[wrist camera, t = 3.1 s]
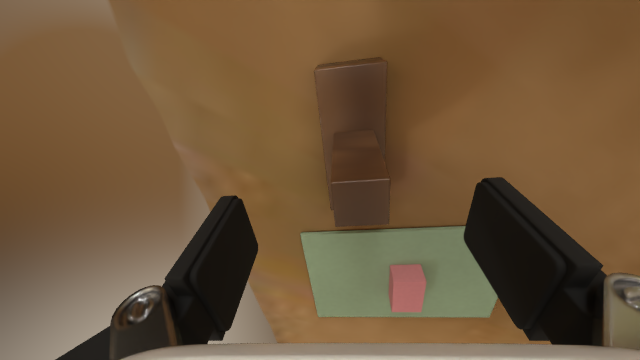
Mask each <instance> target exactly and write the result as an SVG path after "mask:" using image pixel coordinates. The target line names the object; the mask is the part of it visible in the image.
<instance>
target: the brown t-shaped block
mask: <svg viewBox="0 0 640 360" xmlns="http://www.w3.org/2000/svg"><path fill="white" fill-rule="evenodd" d="M314 74H315V82H316V90H317V99H318V107H319V115H320V123H321V132H322V140H323V148H324V156H325V165H326V173H327V181H328V190H329V198H330V206H331V210H334V219H335V226H336V227H340V226H363V225H387V224H389V207H390V177H389V174H388V171H387V168H386V165H385V131H386V85H387V61H385V60H383V59H382V58H380V57H378V58H370V59H362V60H354V61H346V62H338V63H330V64H322V65H318V66H317V67H316V69H315V70H314Z"/></svg>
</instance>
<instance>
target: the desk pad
mask: <svg viewBox="0 0 640 360" xmlns="http://www.w3.org/2000/svg"><path fill="white" fill-rule="evenodd" d="M465 227H466V226H452V227H427V228H402V229H377V230H352V231H327V232H302V233H301V235H300V236H301V241H302V245H303V250H304V254H305V259H306V263H307V268H308V273H309V277H310V282H311V286H312V291H313V295H314V300H315V305H316V309H317V314H318V317H490V314H491V312H492V310H493V307H494V305H495V303H496V301H497V298H498V296H497V294H496V293H495V291H494V290H493V288H492V286H491V285H490V283H489V281H488V280H487V278H486V277H485V275H484V273H483V272H482V270H481V268H480V267H479V265H478V263H477V262H476V260H475V259H474V257H473V255H472V254H471V252H470V250H469V249H468V247H467V245H466V244H465V241H464V231H465ZM411 264H421V267H422V270H423V273H424V276H425V278H426V281H427V282H426V288H425V294H424V300H423V306H422V312H392V311H391V305H390V300H389V274H390V265H411Z"/></svg>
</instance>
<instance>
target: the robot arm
mask: <svg viewBox="0 0 640 360" xmlns="http://www.w3.org/2000/svg"><path fill="white" fill-rule="evenodd" d="M464 241H465V244H466V245H467V247H468V249H469V250H470V252H471V254H472V255H473V257H474V259H475V260H476V262H477V263H478V265H479V267H480V268H481V270H482V272H483V273H484V275H485V277H486V278H487V280H488V281H489V283H490V285H491V286H492V288H493V290H494V291H495V293H496V294H497V296H498V298H499V299H500V301H501V303H502V304H503V306H504V308H505V309H506V311H507V312H508V314H509V316H510V317H511V319H512V321H513V322H514V324H515V325H516V326H517V327H518V328H519V329H523V331H524V333H525V334H526V336H527V337H528V339H529V341H549V340H550V342H551V343H552V345H549V344H469V343H247V344H246V343H240V344H207V343H208V341H209V340H210V341H211V340H213V341H215V340H216V341H217V340H218V341H219V340H220V341H222V340H223V337H224V334H225V332H226V331H228V330H229V329H230V328H231V326H232V323H233V320H234V317H235V314H236V312H237V308H238V306H239V303H240V300H241V297H242V294H243V291H244V289H245V286H246V283H247V280H248V278H249V275H250V272H251V269H252V266H253V263H254V261H255V258H256V255H257V252H258V243H257V240H256V238H255V235H254V232H253V229H252V226H251V223H250V221H249V218H248V215H247V212H246V209H245V206H244V204H243V201H242V199H238V197H237V196H223V197H221V198H220V199H219V201H218V202H217V204H216V205H215V206H214V208H213V209H212V211H211V212H210V214H209V215H208V217H207V218H206V219H205V221H204V223H203V224H202V225H201V227H200V228H199V230H198V231H197V232H196V234H195V235H194V237H193V238H192V240H191V241H190V243H189V244H188V245H187V247H186V248H185V250H184V251H183V253H182V254H181V256H180V257H179V259H178V260H177V261H176V263H175V264H174V266H173V267H172V269H171V270H170V272H169V273H168V274H167V276H166V277H165V280H166V281H165V283H164V284H163V286H162V287H161V286H155V285H153V286H148V287H145V288H142V289H140V290H138V291H136V292H135V293H134V294H132V295H130V296H129V297H128V298H127V299H125V300H124V301H123V302H122V303H121V304H120V305H119V307H118V308H117V309H116V311H115V312H114V314H113V316H112V320H111V325H110V326H109V327H108V328H106V329H104V330H103V331H101V332H100V333H98V334H97V335H95V336H93V337H92V338H90V339H89V340H87V341H85V342H83V343H82V344H80V345H78V346H77V347H75V348H74V349H72V350H70V351H69V352H67V353H66V354H64V355H62V356H61V357H59V358H58V359H56V360H640V276H637V275H634V274H628V273H612V274H610V275H608V276H607V275H606V274H605V273H604V272H602V271H601V268H602V267H603V265H602V264H601V263H600V262H599V261H598V260H596V259H595V258H594V257H593V256H592V255H591V254H590V253H588V252H587V251H586V250H585V249H584V248H583V247H582V246H580V245H579V244H578V243H577V242H576V241H575V240H574V239H572V238H571V237H570V236H569V235H568V234H567V233H566V232H564V231H563V230H562V229H561V228H560V227H559V226H558V225H556V224H555V223H554V222H553V221H552V220H551V219H550V218H548V217H547V216H546V215H545V214H544V213H543V212H542V211H540V210H539V209H538V208H537V207H536V206H535V205H534V204H532V203H531V202H530V201H529V200H528V199H527V198H526V197H524V196H523V195H522V194H521V193H520V192H519V191H518V190H516V189H515V188H514V187H513V186H512V185H511V184H510V183H508V182H507V181H506V180H505V179H504V178H502V177H497V178H484V179H482V181H481V182H479V183H477V185H476V188H475V192H474V196H473V200H472V204H471V208H470V211H469V215H468V219H467V223H466V227H465V231H464Z"/></svg>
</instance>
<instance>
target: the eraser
mask: <svg viewBox="0 0 640 360" xmlns="http://www.w3.org/2000/svg"><path fill="white" fill-rule="evenodd" d="M426 282H427V281H426V278H425V276H424V273H423V270H422V267H421V264H411V265H390V274H389V300H390V305H391V311H392V312H422V306H423V300H424V294H425V288H426Z"/></svg>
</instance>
